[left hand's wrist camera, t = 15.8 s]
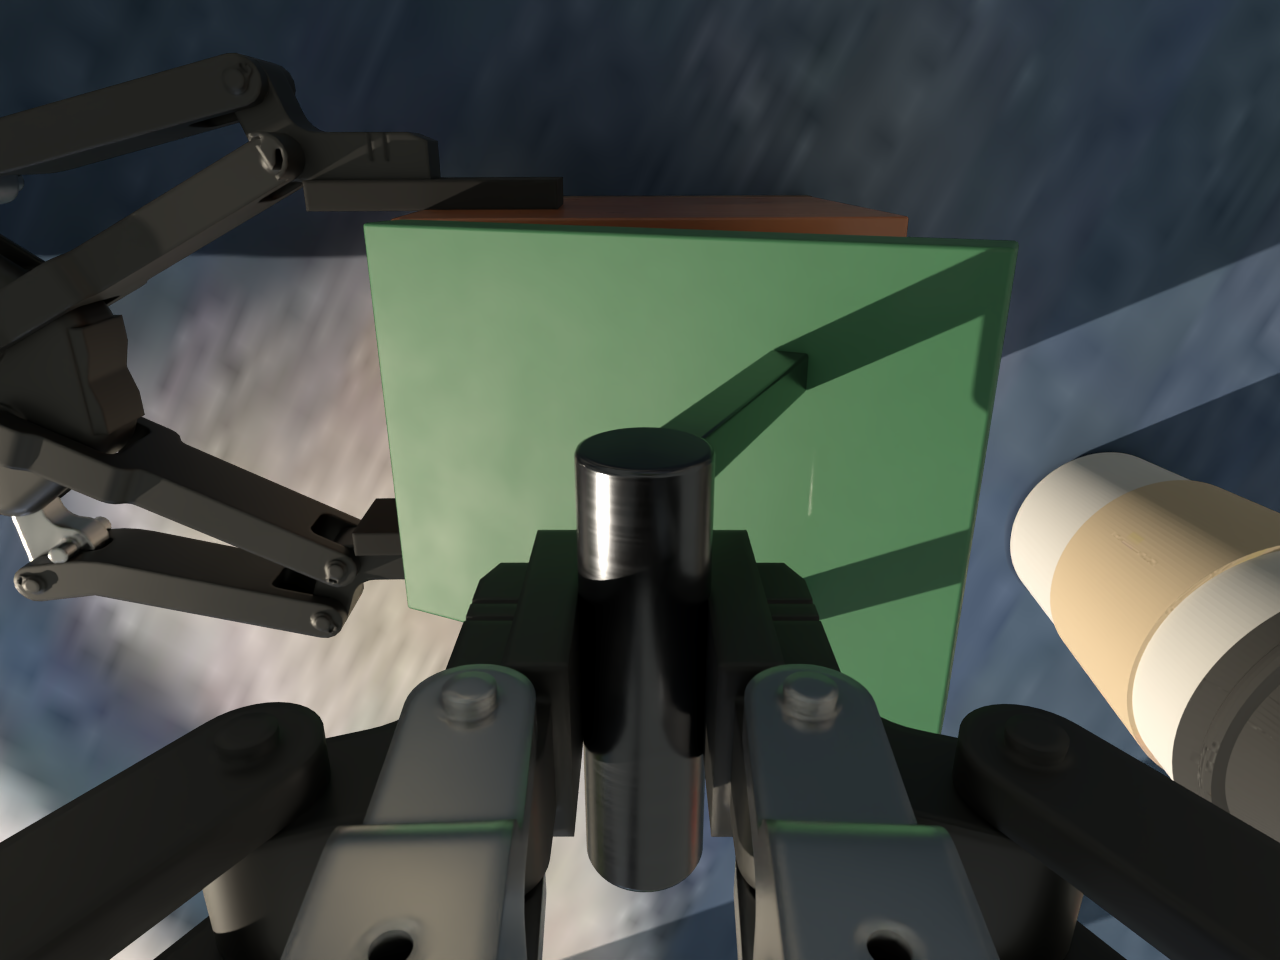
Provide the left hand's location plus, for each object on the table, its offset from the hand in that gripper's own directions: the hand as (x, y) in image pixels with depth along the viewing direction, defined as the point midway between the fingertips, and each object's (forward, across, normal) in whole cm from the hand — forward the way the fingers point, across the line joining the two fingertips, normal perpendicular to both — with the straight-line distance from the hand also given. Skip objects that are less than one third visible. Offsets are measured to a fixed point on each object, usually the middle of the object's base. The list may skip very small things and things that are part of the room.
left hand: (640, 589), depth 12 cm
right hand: (+13, +2, 0) cm, 14 cm away
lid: (+6, 0, 0) cm, 6 cm away
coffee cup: (+20, -18, +8) cm, 29 cm away
